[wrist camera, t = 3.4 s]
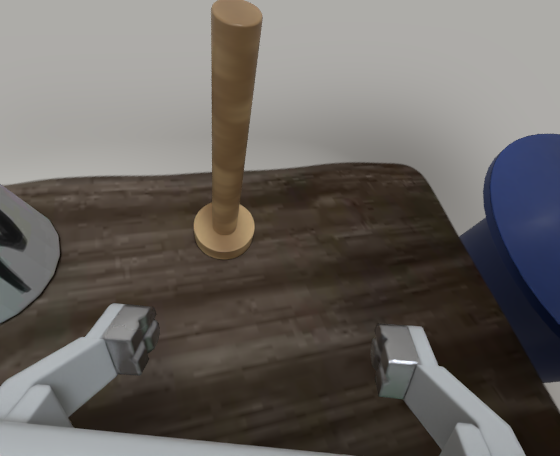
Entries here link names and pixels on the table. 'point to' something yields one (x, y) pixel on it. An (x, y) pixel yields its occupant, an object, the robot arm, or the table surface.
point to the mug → (24, 254)
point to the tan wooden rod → (230, 127)
